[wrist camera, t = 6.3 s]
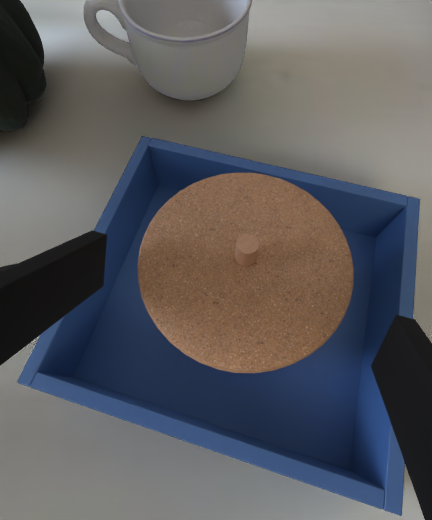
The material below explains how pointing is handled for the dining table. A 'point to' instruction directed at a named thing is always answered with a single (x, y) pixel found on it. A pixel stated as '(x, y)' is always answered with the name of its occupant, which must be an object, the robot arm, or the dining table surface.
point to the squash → (18, 64)
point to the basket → (244, 384)
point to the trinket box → (245, 272)
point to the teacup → (178, 41)
